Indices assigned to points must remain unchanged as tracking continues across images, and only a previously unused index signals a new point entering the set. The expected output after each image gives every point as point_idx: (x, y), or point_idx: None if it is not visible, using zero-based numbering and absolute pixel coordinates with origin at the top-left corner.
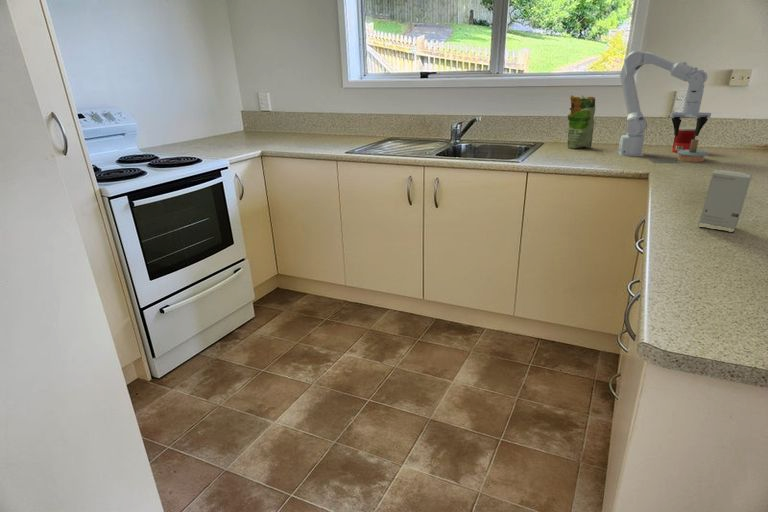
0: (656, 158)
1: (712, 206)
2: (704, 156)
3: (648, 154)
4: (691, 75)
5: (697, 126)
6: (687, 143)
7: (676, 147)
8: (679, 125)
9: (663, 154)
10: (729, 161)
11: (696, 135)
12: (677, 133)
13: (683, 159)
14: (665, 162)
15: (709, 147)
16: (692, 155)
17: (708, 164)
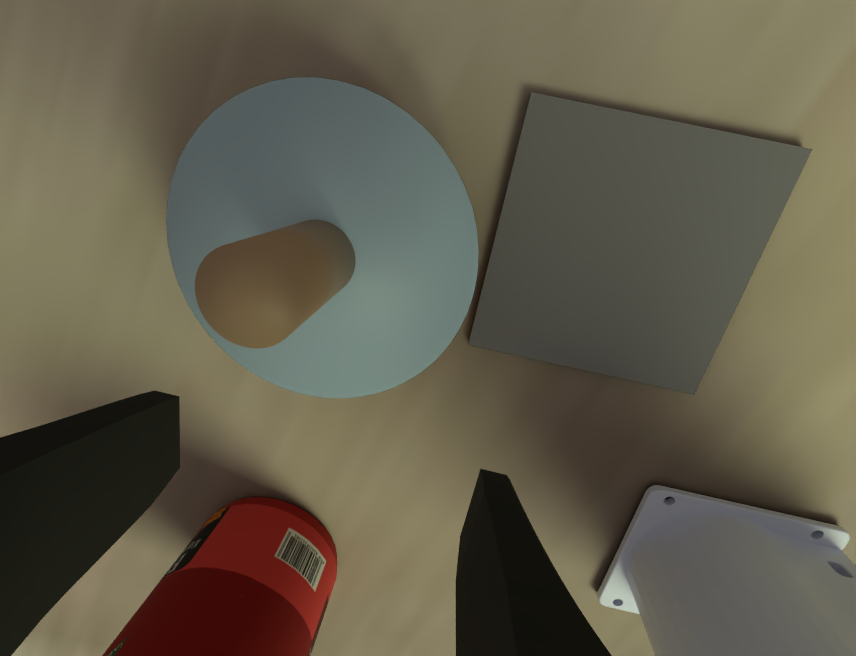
0: (625, 358)
1: None
2: None
3: (551, 547)
4: None
5: (13, 577)
6: (226, 569)
7: (316, 574)
8: (526, 654)
9: (437, 523)
10: (29, 154)
11: (168, 398)
12: (498, 493)
13: None
14: (671, 146)
15: (44, 636)
16: (389, 102)
17: (260, 26)
